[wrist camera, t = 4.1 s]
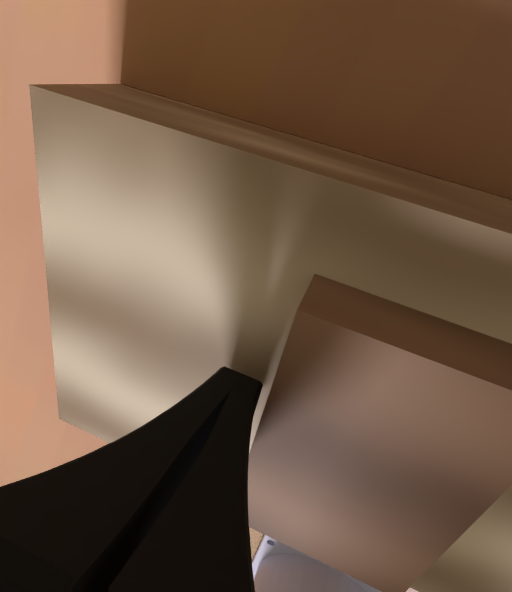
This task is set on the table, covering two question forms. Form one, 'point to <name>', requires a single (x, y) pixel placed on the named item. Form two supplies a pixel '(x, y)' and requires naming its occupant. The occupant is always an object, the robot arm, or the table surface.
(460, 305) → the tan flat block
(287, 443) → the walnut tile
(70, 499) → the robot arm
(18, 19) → the table surface
